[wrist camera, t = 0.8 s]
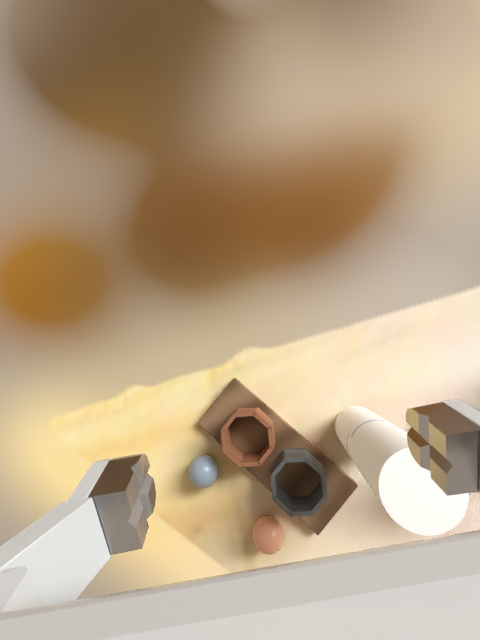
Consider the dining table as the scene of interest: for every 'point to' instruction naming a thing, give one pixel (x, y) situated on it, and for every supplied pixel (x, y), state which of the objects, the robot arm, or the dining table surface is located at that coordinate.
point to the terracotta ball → (268, 535)
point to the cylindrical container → (397, 474)
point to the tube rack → (277, 456)
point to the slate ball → (203, 471)
